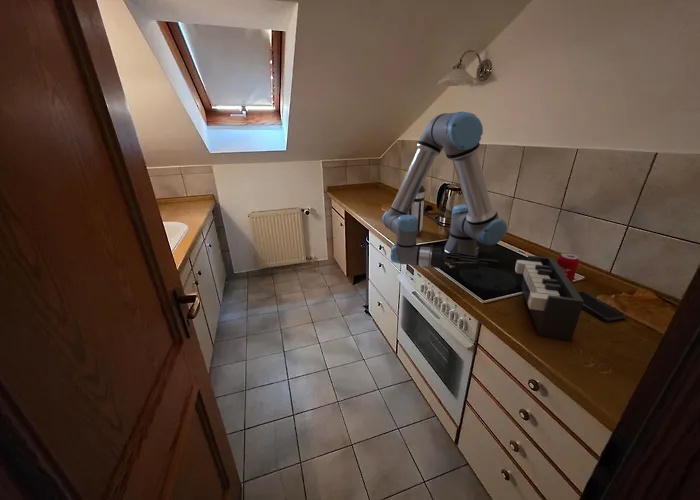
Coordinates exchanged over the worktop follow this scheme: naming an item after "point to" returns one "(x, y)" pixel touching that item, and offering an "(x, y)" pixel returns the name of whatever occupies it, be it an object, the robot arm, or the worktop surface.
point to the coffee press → (418, 208)
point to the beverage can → (568, 264)
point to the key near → (537, 301)
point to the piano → (552, 298)
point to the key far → (521, 264)
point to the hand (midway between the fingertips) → (497, 264)
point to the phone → (600, 308)
